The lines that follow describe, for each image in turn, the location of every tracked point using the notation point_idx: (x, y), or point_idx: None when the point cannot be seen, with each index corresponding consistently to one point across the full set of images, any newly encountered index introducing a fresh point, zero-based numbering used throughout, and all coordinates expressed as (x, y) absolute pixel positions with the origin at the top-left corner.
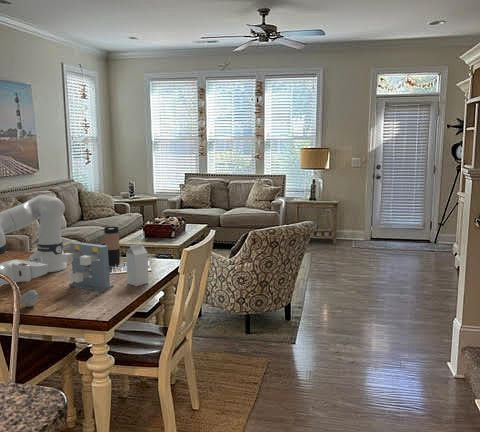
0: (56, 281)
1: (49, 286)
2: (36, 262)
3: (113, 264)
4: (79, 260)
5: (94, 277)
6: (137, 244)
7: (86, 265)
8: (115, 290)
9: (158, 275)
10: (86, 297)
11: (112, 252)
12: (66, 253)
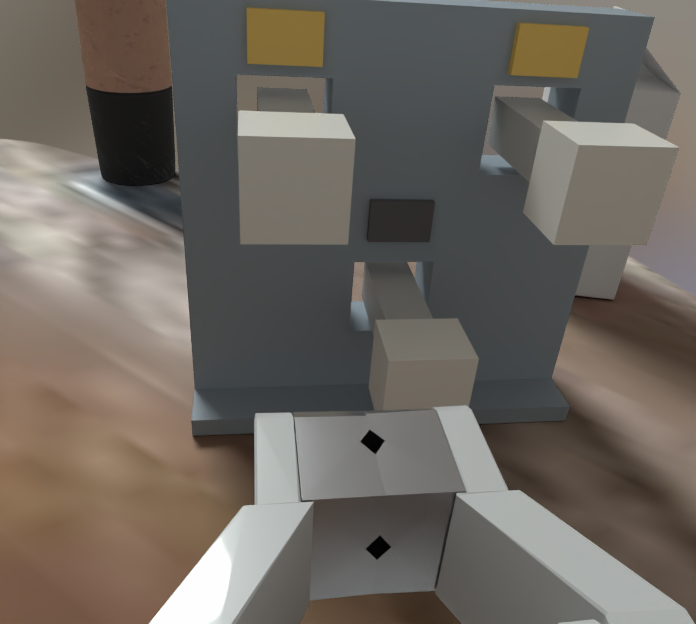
0: None
1: (2, 522)
2: (319, 523)
3: (161, 177)
4: None
5: (458, 319)
6: None
7: (643, 242)
8: (603, 373)
9: None
10: (637, 553)
11: (155, 107)
12: (273, 121)
